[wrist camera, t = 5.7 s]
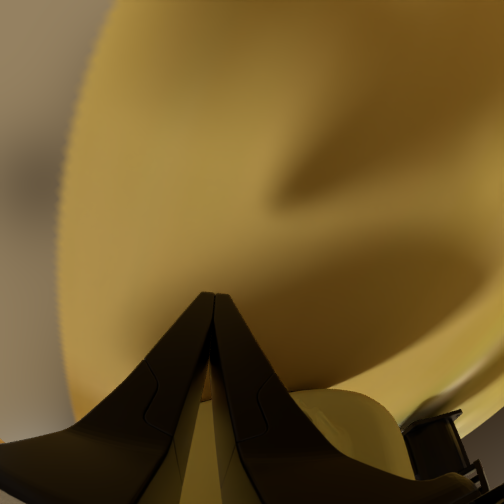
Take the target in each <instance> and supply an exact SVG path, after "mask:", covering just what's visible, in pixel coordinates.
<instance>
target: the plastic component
mask: <svg viewBox="0 0 504 504" xmlns="http://www.w3.org/2000/svg"><path fill="white" fill-rule="evenodd" d="M289 394H290V396H291V397H292V398H293V399H294V401H295V402H296V403H297V404H298V406H299V407H300V408H301V410H302V411H303V412H304V413H305V414H306V415H307V417H308V418H309V419H310V420H311V421H312V422H313V424H314V425H315V426H316V427H317V428H318V429H319V430H320V432H321V433H322V434H323V435H324V436H325V437H326V438H327V440H328V441H329V442H330V443H331V444H332V445H333V446H334V447H335V448H337V449H338V450H339V451H341V452H342V453H343V454H345V455H347V456H349V457H351V458H353V459H355V460H358V461H360V462H363V463H365V464H368V465H370V466H373V467H375V468H378V469H381V470H383V471H386V472H389V473H392V474H395V475H397V476H400V477H403V478H407V479H411V480H415V477H414V473H413V470H412V466H411V463H410V459H409V455H408V452H407V448H406V445H405V442H404V439H403V436H402V433H401V431H400V428H399V427H398V425H397V423H396V421H395V419H394V418H393V416H392V415H391V414H390V413H389V411H388V410H387V409H386V408H385V407H384V406H382V405H381V404H380V403H378V402H377V401H375V400H374V399H372V398H370V397H368V396H366V395H364V394H361V393H357V392H353V391H347V390H339V389H312V390H302V391H296V392H290V393H289ZM179 504H222V499H221V489H220V482H219V474H218V464H217V455H216V445H215V434H214V423H213V411H212V400H209V401H205V402H201V403H200V405H199V410H198V415H197V419H196V424H195V429H194V434H193V438H192V443H191V448H190V453H189V458H188V463H187V467H186V472H185V477H184V482H183V486H182V493H181V498H180V503H179Z"/></svg>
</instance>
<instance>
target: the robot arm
mask: <svg viewBox="0 0 504 504" xmlns="http://www.w3.org/2000/svg"><path fill="white" fill-rule="evenodd" d="M214 301H215V302H214ZM213 311H214V312H213ZM210 344H211V345H210ZM209 355H210V358H209ZM208 363H209V369H210V385H211V399H212V411H213V423H214V434H215V445H216V455H217V464H218V474H219V482H220V489H221V499H222V504H504V483H502V484H500V485H499V486H497V487H495V488H494V489H492V490H490V488H489V485H488V481H487V478H486V476H485V473H484V470H483V467H482V464H481V462H480V460H479V459H478V460H476V461H474V462H473V464H471V465H470V462H469V459H468V457H467V455H466V451H465V449H464V446H463V444H462V442H461V439H460V436H459V434H458V431H457V429H456V427H455V424H454V421H455V420H456V419H457V418H458V417H459V416H460V415H461V414H462V410H461V409H459V410H456V411H452V412H449V413H446V414H442V415H439V416H435V417H431V418H427V419H423V420H419V421H416V422H414V423H412V424H411V425H410V426H409V427H408V428H407V429H405V430H404V431H403V432H402V436H403V439H404V442H405V445H406V448H407V452H408V455H409V459H410V463H411V466H412V470H413V473H414V477H415V480H411V479H407V478H403V477H400V476H397V475H395V474H392V473H389V472H386V471H383V470H381V469H378V468H375V467H373V466H370V465H368V464H365V463H363V462H360V461H358V460H355V459H353V458H351V457H349V456H347V455H345V454H343V453H342V452H341V451H339V450H338V449H337V448H335V447H334V446H333V445H332V444H331V443H330V442H329V441H328V440H327V438H326V437H325V436H324V435H323V434H322V433H321V432H320V430H319V429H318V428H317V427H316V426H315V425H314V424H313V422H312V421H311V420H310V419H309V418H308V417H307V415H306V414H305V413H304V412H303V411H302V410H301V408H300V407H299V406H298V404H297V403H296V402H295V401H294V399H293V398H292V397H291V396H290V394H289V393H288V391H287V390H286V388H285V387H284V385H283V384H282V382H281V381H280V379H279V377H278V376H277V374H276V373H274V372H275V371H274V369H273V368H272V366H271V364H270V363H269V361H268V360H267V358H266V356H265V355H264V353H263V351H262V350H261V348H260V346H259V345H258V343H257V341H256V340H255V338H254V336H253V335H252V333H251V331H250V329H249V328H248V326H247V324H246V323H245V321H244V319H243V318H242V316H241V314H240V312H239V311H238V309H237V307H236V306H235V304H234V302H233V300H232V299H231V297H230V295H228V294H221V293H217V294H216V295H215V294H214V293H211V292H201V293H200V294H199V295H198V296H197V297H196V298H195V300H194V301H193V302H192V303H191V304H190V305H189V306H188V308H187V309H186V310H185V311H184V312H183V313H182V315H181V316H180V317H179V318H178V319H177V320H176V321H175V323H174V324H173V325H172V326H171V327H170V328H169V330H168V331H167V332H166V333H165V334H164V335H163V337H162V338H161V339H160V340H159V341H158V342H157V344H156V345H155V346H154V347H153V348H152V349H151V351H150V352H149V353H148V354H147V355H146V356H145V358H144V360H142V361H141V362H140V363H139V365H138V366H137V367H136V368H135V369H134V370H133V371H132V372H131V374H130V375H129V376H128V377H127V378H126V379H125V380H124V381H123V382H122V383H121V384H120V385H119V386H118V387H117V388H116V389H115V390H114V391H112V392H111V393H110V394H109V395H108V396H107V397H106V398H105V399H103V400H102V401H101V402H100V403H99V404H98V405H97V406H96V407H94V408H93V409H92V410H91V411H90V412H89V413H88V414H87V415H85V416H84V417H83V418H82V419H81V420H80V421H78V422H77V423H75V424H74V425H73V426H71V427H69V428H67V429H64V430H62V431H58V432H54V433H51V434H46V435H43V436H38V437H34V438H29V439H24V440H20V441H15V442H10V443H2V444H0V504H179V503H180V498H181V493H182V486H183V482H184V477H185V472H186V467H187V463H188V458H189V453H190V448H191V443H192V438H193V434H194V429H195V424H196V419H197V415H198V410H199V405H200V401H201V396H202V391H203V387H204V382H205V378H206V373H207V369H208ZM475 471H477V475H476V476H474V477H472V478H471V479H468V478H466V476H468V475H470V474H471V473H473V472H475ZM479 483H480V484H481V486H480V487H479V488H477V486H476V485H477V484H479Z"/></svg>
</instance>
